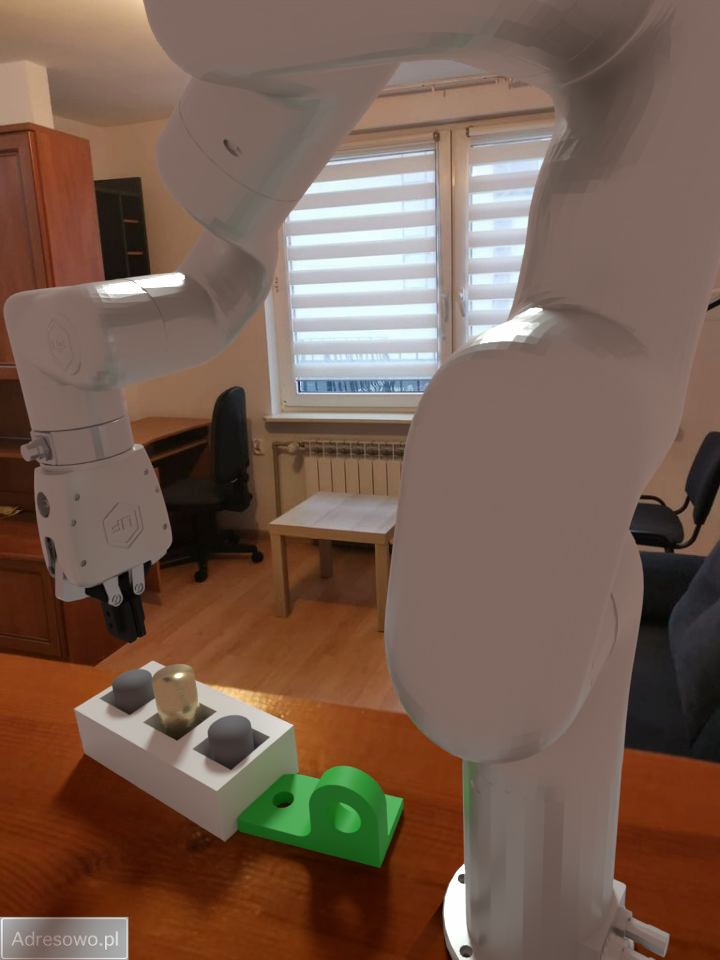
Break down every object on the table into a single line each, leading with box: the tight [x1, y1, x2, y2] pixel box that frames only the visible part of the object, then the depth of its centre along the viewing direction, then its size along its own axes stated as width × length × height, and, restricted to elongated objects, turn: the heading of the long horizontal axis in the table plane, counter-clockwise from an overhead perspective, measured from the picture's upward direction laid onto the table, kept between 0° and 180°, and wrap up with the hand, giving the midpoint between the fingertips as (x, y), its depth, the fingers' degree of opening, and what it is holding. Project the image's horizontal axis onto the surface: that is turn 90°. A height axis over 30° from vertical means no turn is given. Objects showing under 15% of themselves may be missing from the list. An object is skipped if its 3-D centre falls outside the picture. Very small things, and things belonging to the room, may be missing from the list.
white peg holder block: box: [73, 660, 300, 842], centre depth 65 cm, size 19×9×6 cm, turn 54°
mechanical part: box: [238, 765, 404, 869], centre depth 57 cm, size 12×6×8 cm, turn 70°
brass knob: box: [152, 663, 202, 741], centre depth 63 cm, size 4×4×6 cm
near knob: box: [208, 715, 254, 770], centre depth 61 cm, size 4×4×6 cm
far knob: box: [111, 668, 155, 715], centre depth 68 cm, size 4×4×6 cm
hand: (128, 635), depth 65 cm, fingers closed
